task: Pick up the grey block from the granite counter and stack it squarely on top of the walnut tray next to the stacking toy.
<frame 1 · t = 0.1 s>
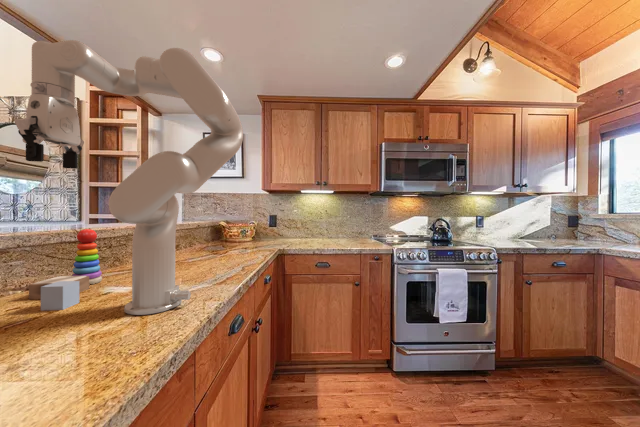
hand: (53, 164, 64), 37 cm above the worktop, tool pointing down, fingers open, 9 cm apart
grey block: (60, 306, 66), on the worktop
walnut tray: (61, 293, 76), on the worktop
stacking toy: (86, 283, 87), on the worktop
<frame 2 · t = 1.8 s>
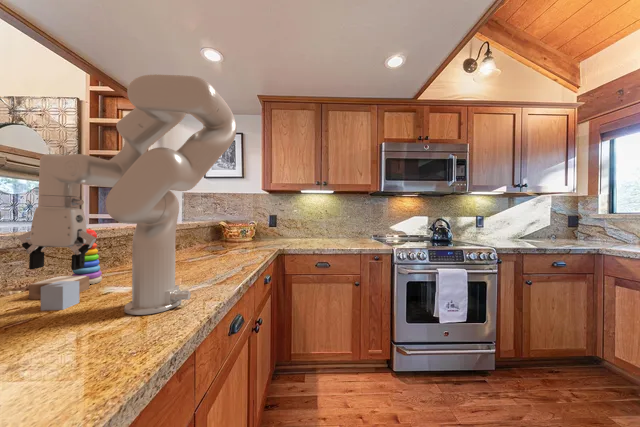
hand: (57, 268, 66), 10 cm above the worktop, tool pointing down, fingers open, 9 cm apart
nothing on the worktop moved.
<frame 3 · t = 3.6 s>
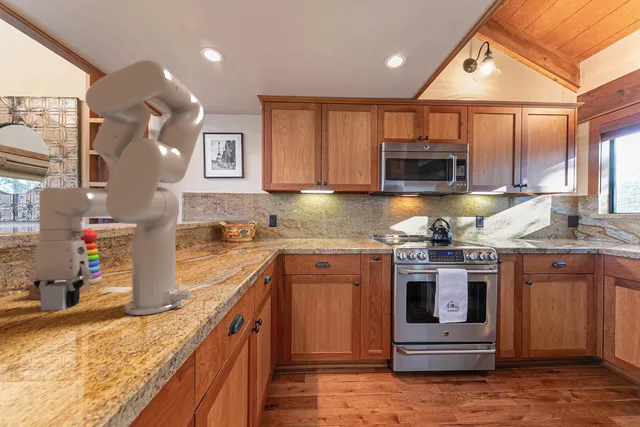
hand: (60, 304, 66), 0 cm above the worktop, tool pointing down, fingers closed on grey block, 5 cm apart
grey block: (60, 306, 66), on the worktop, touching gripper
everything else where it was.
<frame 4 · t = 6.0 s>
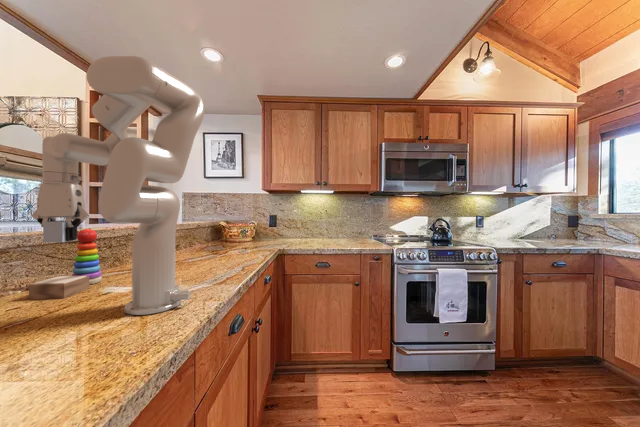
hand: (60, 239, 76), 16 cm above the worktop, tool pointing down, fingers closed on grey block, 5 cm apart
grey block: (60, 241, 76), point 16 cm above the worktop, touching gripper
everything else where it was.
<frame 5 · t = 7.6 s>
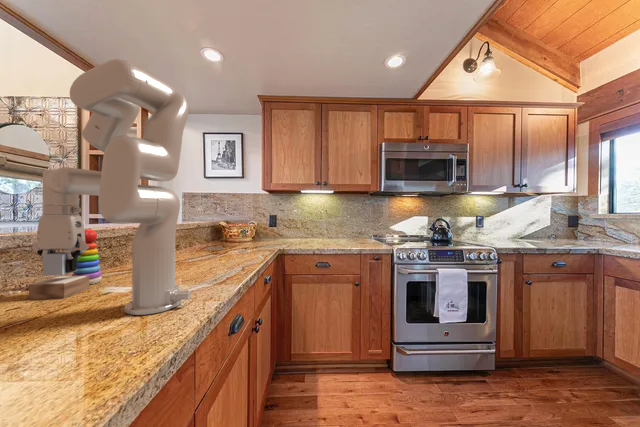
hand: (60, 271, 76), 7 cm above the worktop, tool pointing down, fingers closed on grey block, 5 cm apart
grey block: (60, 272, 76), point 6 cm above the worktop, touching gripper
everything else where it was.
when the fingers open (6 cm above the worktop, at t = 8.6 s): grey block drops 1 cm, resting on walnut tray.
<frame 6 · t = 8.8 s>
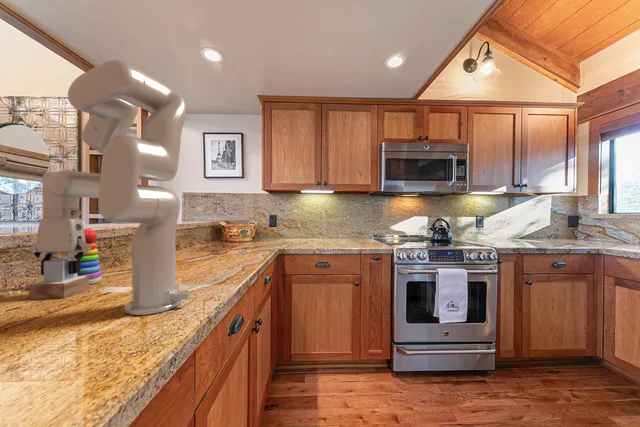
hand: (61, 273, 76), 6 cm above the worktop, tool pointing down, fingers open, 6 cm apart
grey block: (61, 279, 76), point 4 cm above the worktop, touching walnut tray
everything else where it was.
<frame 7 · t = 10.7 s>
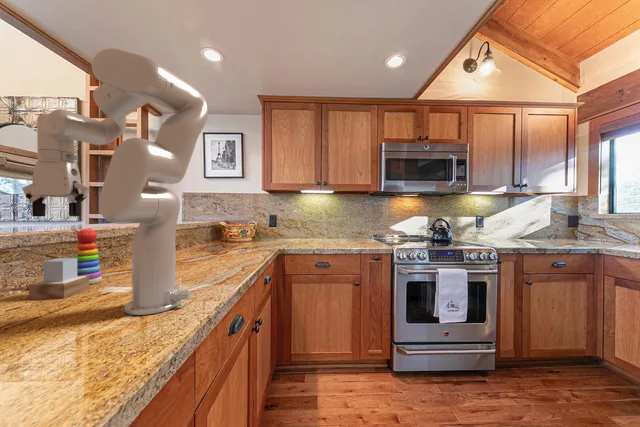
hand: (57, 216, 75), 23 cm above the worktop, tool pointing down, fingers open, 9 cm apart
nothing on the worktop moved.
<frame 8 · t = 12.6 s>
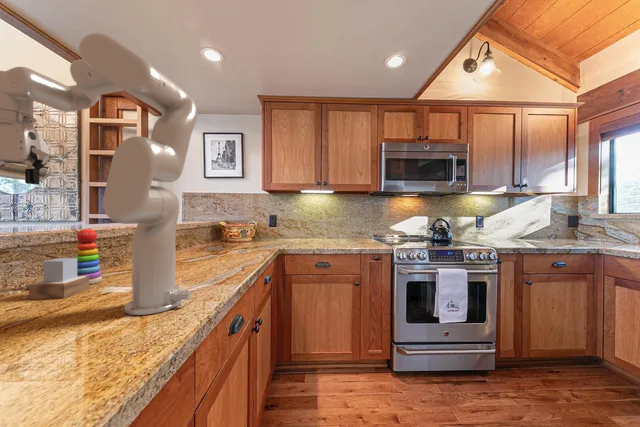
hand: (12, 183, 69), 32 cm above the worktop, tool pointing down, fingers open, 9 cm apart
nothing on the worktop moved.
at the end: grey block 0.1 cm off-centre on the walnut tray, point 4.2 cm above the walnut tray's base; grey block tilted 0°; the gripper is holding nothing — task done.
